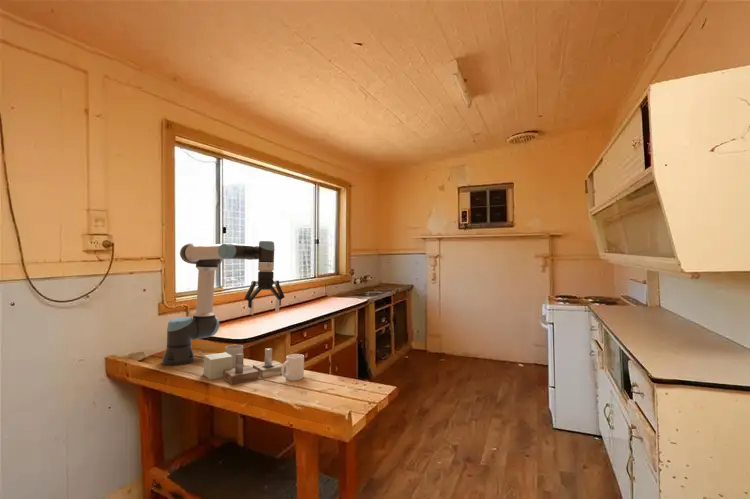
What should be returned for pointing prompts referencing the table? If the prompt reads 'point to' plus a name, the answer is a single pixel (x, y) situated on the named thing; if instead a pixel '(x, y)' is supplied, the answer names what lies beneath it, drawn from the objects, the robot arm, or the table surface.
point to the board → (241, 376)
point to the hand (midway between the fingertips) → (264, 313)
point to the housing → (217, 364)
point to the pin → (268, 358)
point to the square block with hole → (269, 369)
